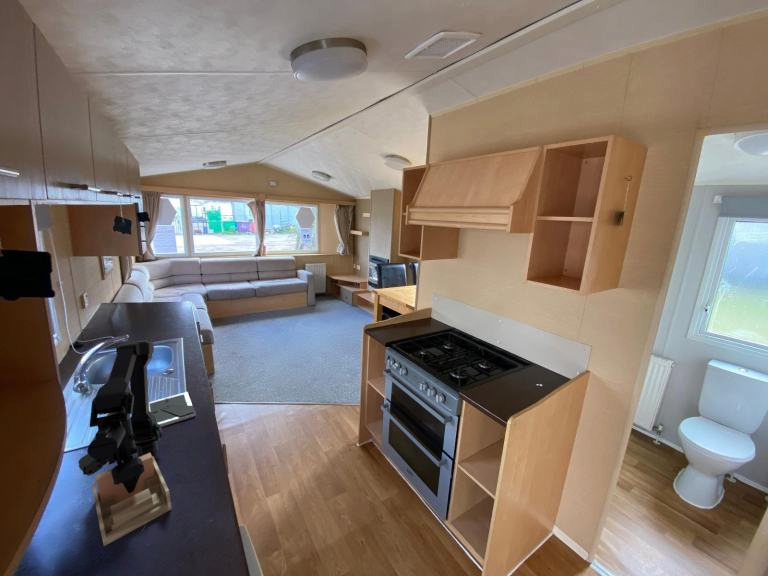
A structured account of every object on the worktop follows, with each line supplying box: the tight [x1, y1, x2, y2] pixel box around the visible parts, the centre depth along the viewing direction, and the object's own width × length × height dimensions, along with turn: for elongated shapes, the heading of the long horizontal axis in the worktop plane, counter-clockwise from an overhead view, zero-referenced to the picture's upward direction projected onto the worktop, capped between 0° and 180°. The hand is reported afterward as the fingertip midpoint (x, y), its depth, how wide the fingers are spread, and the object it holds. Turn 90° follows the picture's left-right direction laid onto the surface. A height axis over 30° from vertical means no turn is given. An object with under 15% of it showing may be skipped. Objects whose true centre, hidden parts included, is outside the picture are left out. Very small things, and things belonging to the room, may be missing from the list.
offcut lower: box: [109, 493, 160, 531], centre depth 83 cm, size 4×10×2 cm, turn 136°
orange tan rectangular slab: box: [95, 453, 155, 504], centre depth 89 cm, size 2×12×10 cm, turn 136°
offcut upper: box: [110, 488, 153, 525], centre depth 82 cm, size 4×8×2 cm, turn 136°
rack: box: [91, 457, 173, 547], centre depth 86 cm, size 18×14×7 cm
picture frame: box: [149, 391, 196, 428], centre depth 131 cm, size 16×3×21 cm
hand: (128, 482), depth 89 cm, fingers open, 9 cm apart
